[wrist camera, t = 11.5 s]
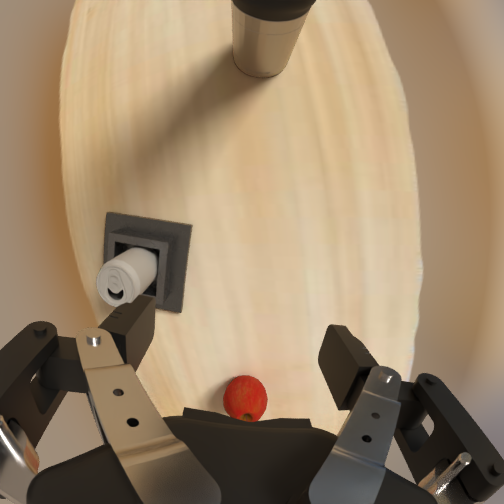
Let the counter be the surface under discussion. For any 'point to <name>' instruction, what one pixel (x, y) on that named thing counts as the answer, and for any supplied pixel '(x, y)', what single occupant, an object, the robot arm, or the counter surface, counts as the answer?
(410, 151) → the counter surface
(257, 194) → the counter surface
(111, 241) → the grey square socket holder
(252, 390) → the apple
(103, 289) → the beverage can
